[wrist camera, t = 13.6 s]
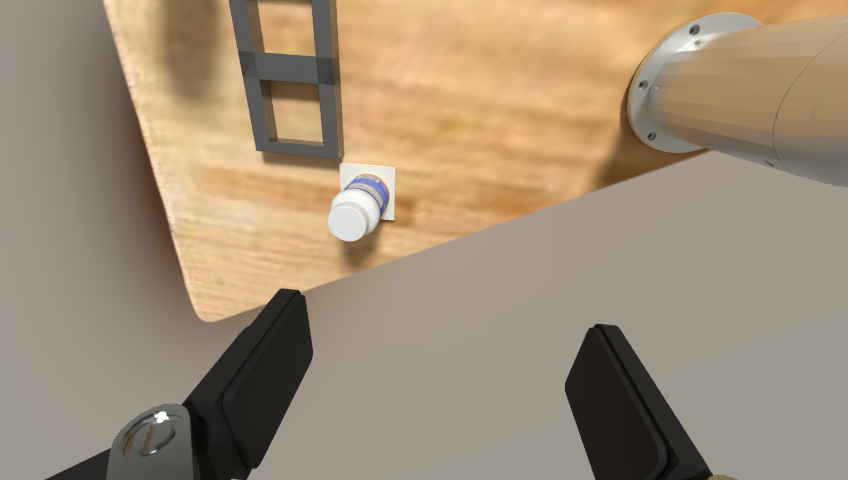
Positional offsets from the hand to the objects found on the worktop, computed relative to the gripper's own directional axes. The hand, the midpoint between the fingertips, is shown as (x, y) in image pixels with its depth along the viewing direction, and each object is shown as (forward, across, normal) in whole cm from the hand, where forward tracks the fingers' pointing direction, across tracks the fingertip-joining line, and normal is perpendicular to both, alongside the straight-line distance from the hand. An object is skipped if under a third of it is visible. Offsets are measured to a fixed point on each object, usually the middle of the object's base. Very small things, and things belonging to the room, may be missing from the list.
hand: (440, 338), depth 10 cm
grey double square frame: (+30, +18, -7) cm, 36 cm away
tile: (+30, +10, +6) cm, 33 cm away
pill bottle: (+30, +10, +6) cm, 32 cm away
